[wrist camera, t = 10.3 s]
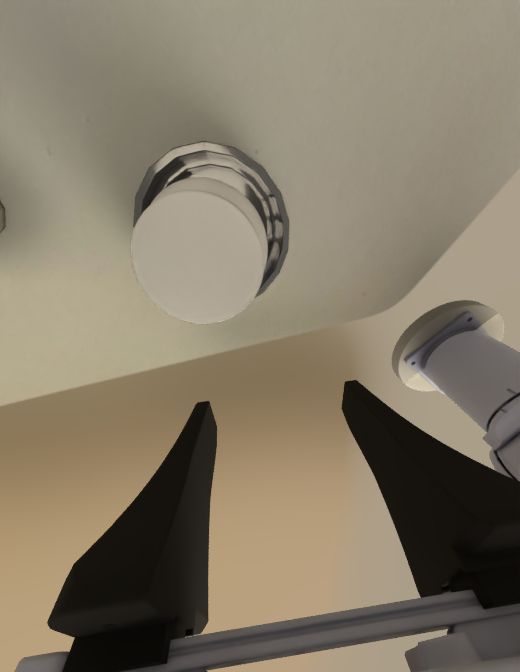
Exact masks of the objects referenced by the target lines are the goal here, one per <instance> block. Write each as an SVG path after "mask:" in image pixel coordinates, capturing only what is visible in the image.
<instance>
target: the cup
mask: <svg viewBox="0 0 520 672" xmlns="http://www.w3.org/2000/svg"><path fill="white" fill-rule="evenodd" d="M4 228H5V209H4V207H3V205H2V204H1V202H0V232H1V231H2V230H3V229H4Z"/></svg>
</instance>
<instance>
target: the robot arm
mask: <svg viewBox="0 0 520 672" xmlns="http://www.w3.org/2000/svg"><path fill="white" fill-rule="evenodd" d="M405 363H406V364H408V365H409V366H410V367H411V368H412V369H413V370H415V371H416V372H417V373H418V374H419V375H420V376H422V377H423V378H424V379H425V380H426V381H428V382H429V383H430V384H431V385H432V386H433V387H435V388H436V389H437V390H438V391H439V392H440V393H442V394H446V395H447V396H448V397H449V398H450V399H451V400H453V401H454V402H455V403H456V404H457V405H458V406H459V407H460V408H461V409H462V410H464V412H465V413H467V414H468V415H469V416H470V417H471V418H472V419H473V420H474V421H475V422H476V423H478V425H479V426H481V427H482V428H483V429H484V430H485V431H486V432H487V434H486V435H485V436H484V437H483V439H484V440H485V441H486V442H487V443H488V444H489V445H490V446H491V447H492V449H491V451H490V454H489V455H490V459H491V462H492V464H493V465H494V468H495V470H496V471H495V470H493V469H491V468H489V467H487V466H485V465H483V464H481V463H479V462H477V461H475V460H473V459H471V458H469V457H467V456H465V455H463V454H461V453H459V452H458V451H456V450H454V449H452V448H450V447H449V446H447V445H445V444H443V443H442V442H440V441H438V440H437V439H435V438H433V437H432V436H430V435H429V434H427V433H425V432H424V431H422V430H421V429H419V428H418V427H416V426H415V425H413V424H412V423H410V422H409V421H407V420H406V419H405V418H403V417H402V416H400V415H399V414H398V413H396V412H395V411H394V410H392V409H391V408H390V407H388V406H387V405H386V404H385V403H383V402H382V401H381V400H380V399H378V398H377V397H376V396H375V395H374V394H372V393H371V392H370V391H369V390H368V389H366V388H365V387H364V386H363V385H361V384H360V383H359V382H358V381H357V380H353V381H346V382H345V385H344V393H343V401H342V410H343V413H344V416H345V418H346V421H347V424H348V426H349V428H350V430H351V432H352V434H353V436H354V438H355V440H356V442H357V444H358V445H359V447H360V449H361V451H362V453H363V455H364V457H365V459H366V460H367V462H368V464H369V466H370V468H371V470H372V472H373V474H374V476H375V479H376V481H377V483H378V485H379V488H380V490H381V493H382V495H383V498H384V500H385V503H386V505H387V507H388V510H389V513H390V515H391V518H392V520H393V523H394V525H395V528H396V530H397V533H398V536H399V539H400V541H401V544H402V547H403V549H404V552H405V555H406V558H407V560H408V564H409V566H410V569H411V572H412V575H413V578H414V581H415V584H416V587H417V590H418V592H419V594H420V597H421V598H418V599H412V600H406V601H400V602H394V603H388V604H382V605H376V606H370V607H364V608H358V609H352V610H346V611H340V612H334V613H328V614H322V615H316V616H311V617H304V618H299V619H293V620H287V621H281V622H275V623H269V624H263V625H257V626H251V627H245V628H240V629H234V630H227V631H221V632H215V633H210V634H203V635H198V636H193V635H196V634H200V633H201V632H202V631H203V629H204V628H205V626H206V624H207V623H208V549H209V546H208V545H209V517H210V496H211V488H212V479H213V472H214V464H215V455H216V447H217V425H216V422H215V419H214V415H213V412H212V409H211V406H210V402H209V401H206V402H198V403H197V404H196V405H195V408H194V409H193V411H192V413H191V416H190V417H189V419H188V421H187V423H186V425H185V427H184V428H183V430H182V432H181V434H180V435H179V437H178V439H177V441H176V443H175V444H174V446H173V448H172V449H171V450H170V452H169V453H168V455H167V457H166V458H165V460H164V461H163V463H162V464H161V466H160V467H159V469H158V470H157V471H156V473H155V474H154V475H153V477H152V478H151V479H150V481H149V482H148V483H147V485H146V486H145V487H144V488H143V490H142V491H141V492H140V493H139V495H138V496H137V497H136V498H135V500H134V501H133V502H132V503H131V504H130V506H129V507H128V508H127V509H126V510H125V511H124V512H123V513H122V515H121V516H120V517H119V518H118V519H117V520H116V521H115V523H113V525H112V526H111V527H110V528H109V529H108V530H107V531H106V532H105V533H104V534H103V535H102V536H101V537H100V538H99V539H98V540H97V541H96V542H95V543H94V544H93V545H92V546H91V548H89V549H88V551H87V552H86V553H85V554H84V555H83V556H82V557H81V558H80V559H79V560H77V561H76V563H74V565H73V567H72V569H71V571H70V573H69V575H68V577H67V578H66V581H65V583H64V585H63V587H62V590H61V592H60V594H59V597H58V599H57V601H56V603H55V606H54V608H53V610H52V613H51V615H50V617H49V619H48V622H47V623H48V626H49V627H50V629H52V630H54V631H57V632H60V633H63V634H66V635H69V636H72V637H75V639H74V641H73V644H72V647H71V650H70V652H54V653H48V654H42V655H36V656H31V657H24V658H23V659H22V660H21V661H20V662H19V663H18V666H17V668H16V670H15V672H207V671H206V670H212V669H217V668H223V667H229V666H235V665H241V664H246V663H252V662H258V661H264V660H270V659H276V658H281V657H287V656H293V655H299V654H305V653H311V652H316V651H322V650H328V649H334V648H340V647H345V646H351V645H357V644H363V643H368V642H375V641H380V640H386V639H392V638H398V637H403V636H409V635H415V634H421V633H426V632H433V631H438V630H444V629H448V631H447V635H445V636H442V637H438V638H434V639H430V640H426V641H422V642H418V646H416V647H415V648H413V649H410V650H408V651H406V652H405V657H406V660H407V662H408V665H409V668H410V671H411V672H520V352H518V351H516V350H514V349H513V348H511V347H509V346H507V345H505V344H503V343H502V342H500V341H498V340H496V339H494V338H492V337H490V335H489V334H488V333H487V332H486V330H485V329H484V328H483V326H482V325H481V324H480V323H479V321H478V320H477V319H476V318H475V316H474V315H473V314H472V313H471V312H469V311H466V312H464V313H462V314H461V315H460V316H459V317H457V318H456V319H455V320H454V321H452V322H451V323H450V324H448V325H447V326H446V327H445V328H443V329H442V330H441V331H440V332H438V333H437V334H436V335H434V336H433V337H432V338H431V339H429V340H428V341H427V342H426V343H424V344H423V345H422V346H421V347H419V348H418V349H417V350H415V351H414V352H413V353H412V354H410V355H409V356H408V357H407V358H406V359H405ZM187 636H192V637H187ZM185 637H186V638H185Z"/></svg>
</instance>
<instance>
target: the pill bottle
mask: <svg viewBox="0 0 520 672" xmlns="http://www.w3.org/2000/svg"><path fill="white" fill-rule="evenodd" d="M267 254H268V244H267V236H266V232H265V228H264V225H263V222H262V220H261V218H260V216H259V214H258V212H257V210H256V209H255V207H254V206H253V204H252V203H251V202H250V201H249V199H248V198H246V197H245V196H244V195H243V194H242V193H241V192H240V191H238V190H237V189H235V188H234V187H232V186H230V185H228V184H226V183H224V182H222V181H219V180H216V179H212V178H205V177H194V178H187V179H183V180H180V181H177V182H175V183H173V184H171V185H169V186H168V187H166V188H165V189H164V190H162V191H161V192H160V193H159V194H158V195H157V196H156V197H155V199H154V200H153V201H152V203H151V205H150V206H149V207H148V208H147V209H146V210H145V211H144V212H143V213H142V215H141V216H140V218H139V219H138V221H137V223H136V225H135V227H134V230H133V234H132V238H131V247H130V255H131V263H132V267H133V271H134V273H135V276H136V279H137V281H138V283H139V285H140V286H141V288H142V290H143V291H144V293H145V294H146V295H147V296H148V297H149V299H150V300H151V301H152V302H153V303H154V304H155V305H156V306H158V307H159V308H160V309H162V310H163V311H164V312H165V313H167V314H169V315H171V316H173V317H175V318H177V319H180V320H182V321H186V322H190V323H196V324H213V323H218V322H222V321H225V320H228V319H230V318H232V317H234V316H236V315H238V314H239V313H240V312H242V311H243V310H244V309H245V308H246V307H247V306H248V305H249V304H250V303H251V302H252V300H253V299H254V297H255V296H256V294H257V292H258V290H259V288H260V285H261V282H262V279H263V274H264V269H265V266H266V262H267Z"/></svg>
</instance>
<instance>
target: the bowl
mask: <svg viewBox="0 0 520 672" xmlns="http://www.w3.org/2000/svg"><path fill="white" fill-rule="evenodd" d="M194 177H205V178H212V179H216V180H219V181H222V182H224V183H226V184H228V185H230V186H232V187H234V188H235V189H237V190H238V191H240V192H241V193H242V194H243V195H244V196H245V197H246V198H248V199H249V201H250V202H251V203H252V204H253V206H254V207H255V209H256V210H257V212H258V214H259V216H260V218H261V220H262V222H263V225H264V228H265V232H266V236H267V244H268V254H267V262H266V266H265V269H264V274H263V279H262V282H261V285H260V288H259V290H258V292H257V294H256V296H255V297H257V296H259V295H260V294H262V293H263V292H265V290H266V289H267V288H268V287H269V286H270V284H271V283H272V282H273V281H274V279H275V278H276V277H277V276H278V275H279V273H280V270H281V268H282V265H283V262H284V260H285V257H286V254H287V252H288V243H289V219H288V216H287V212H286V209H285V205H284V202H283V198H282V195H281V192H280V191H279V189H278V188H277V186H276V185H275V184H274V182H273V181H272V179H271V178H270V176H269V175H268V173H267V172H266V171H265V169H264V168H263V167H262V166H261V165H260V164H258V163H257V162H256V161H254V160H253V159H251V158H250V157H248V156H247V155H245V154H244V153H243V152H241V151H240V150H238V149H237V148H235V147H230V146H226V145H221V144H216V143H211V142H207V141H201V142H197V143H193V144H188V145H184V146H180V147H176V148H173V149H171V150H170V151H169V152H168V153H166V154H165V155H164V156H163V157H162V158H160V159H159V160H158V161H157V162H156V163H154V164H153V165H152V166H151V167H150V168H149V169H148V171H147V173H146V175H145V177H144V179H143V181H142V184H141V186H140V188H139V190H138V192H137V194H136V197H135V210H134V225H133V227H135V225H136V223H137V221H138V219H139V218H140V216H141V215H142V213H143V212H144V211H145V210H146V209H147V208H148V207H149V206H150V205H151V203H152V201H153V200H154V199H155V197H156V196H157V195H158V194H159V193H160V192H161V191H162V190H164V189H165V188H166V187H168V186H169V185H171V184H173V183H175V182H177V181H180V180H183V179H187V178H194ZM255 297H254V298H255Z"/></svg>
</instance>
